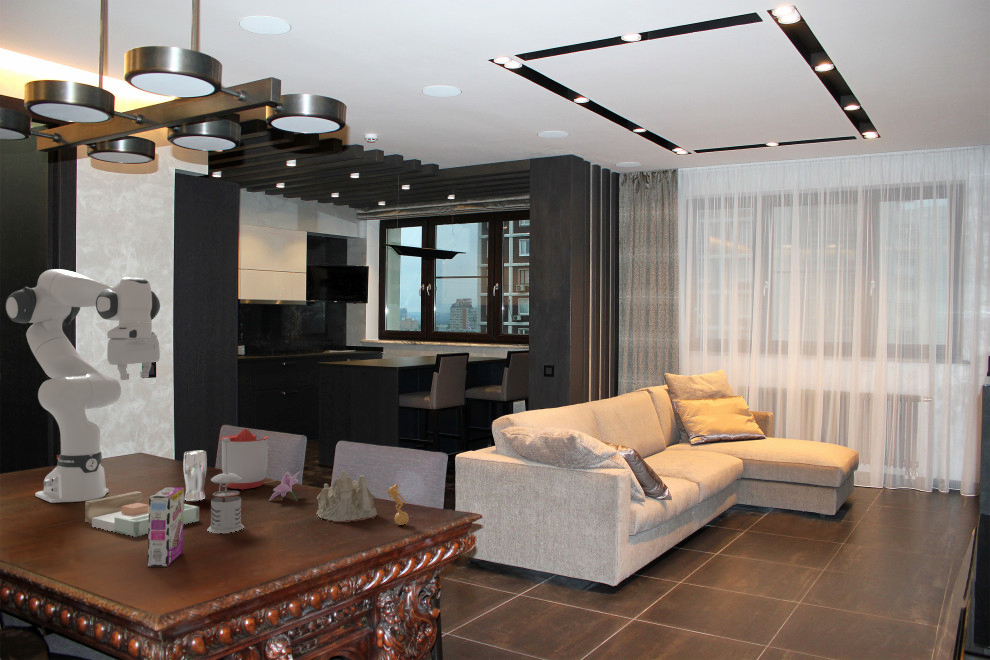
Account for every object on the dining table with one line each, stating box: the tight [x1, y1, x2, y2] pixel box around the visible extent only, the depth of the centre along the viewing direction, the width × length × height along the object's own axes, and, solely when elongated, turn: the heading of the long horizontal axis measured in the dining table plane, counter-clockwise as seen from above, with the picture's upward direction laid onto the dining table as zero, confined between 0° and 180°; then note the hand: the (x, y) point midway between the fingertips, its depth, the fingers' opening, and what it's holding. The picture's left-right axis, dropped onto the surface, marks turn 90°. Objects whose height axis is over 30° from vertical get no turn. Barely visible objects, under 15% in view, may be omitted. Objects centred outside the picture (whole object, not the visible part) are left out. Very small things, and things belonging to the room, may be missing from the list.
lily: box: [268, 470, 301, 502], centre depth 246 cm, size 12×12×10 cm
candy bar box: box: [147, 486, 185, 568], centre depth 184 cm, size 11×5×16 cm, turn 5°
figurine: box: [386, 483, 410, 526], centre depth 217 cm, size 8×6×12 cm
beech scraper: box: [84, 490, 143, 524], centre depth 223 cm, size 2×16×6 cm, turn 150°
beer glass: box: [182, 450, 208, 502], centre depth 246 cm, size 7×7×15 cm
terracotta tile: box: [122, 502, 149, 516], centre depth 218 cm, size 5×5×2 cm
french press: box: [206, 438, 245, 534], centre depth 213 cm, size 10×12×25 cm
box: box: [113, 503, 200, 538], centre depth 213 cm, size 9×20×4 cm, turn 150°
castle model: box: [316, 469, 378, 521], centre depth 228 cm, size 16×16×15 cm
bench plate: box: [91, 511, 149, 533], centre depth 218 cm, size 10×20×2 cm, turn 150°
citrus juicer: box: [220, 428, 270, 491], centre depth 266 cm, size 16×17×20 cm
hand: (134, 378), depth 228 cm, fingers open, 8 cm apart
